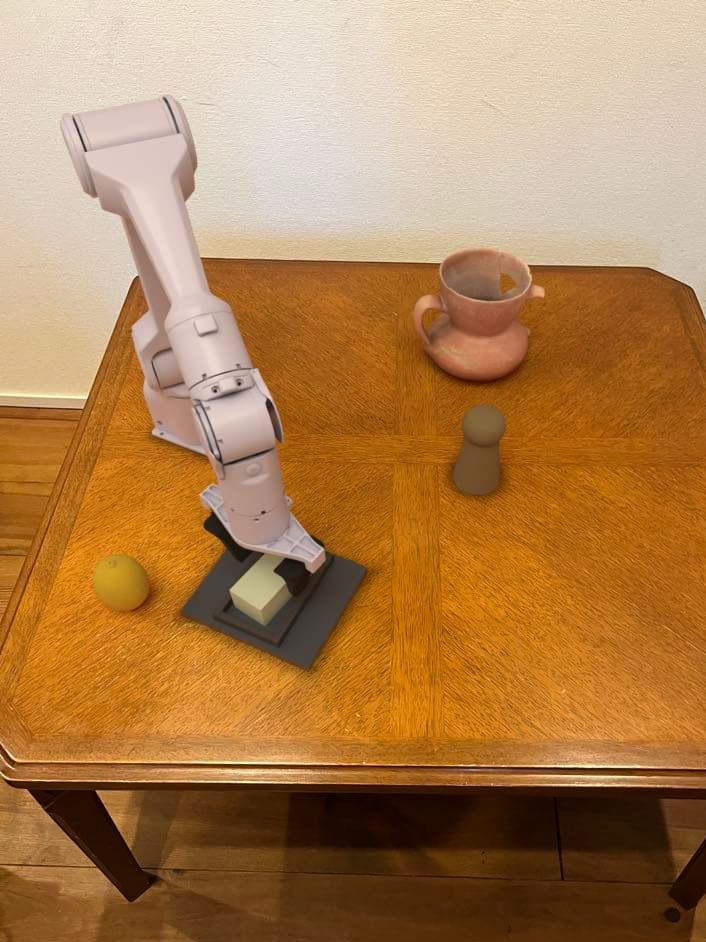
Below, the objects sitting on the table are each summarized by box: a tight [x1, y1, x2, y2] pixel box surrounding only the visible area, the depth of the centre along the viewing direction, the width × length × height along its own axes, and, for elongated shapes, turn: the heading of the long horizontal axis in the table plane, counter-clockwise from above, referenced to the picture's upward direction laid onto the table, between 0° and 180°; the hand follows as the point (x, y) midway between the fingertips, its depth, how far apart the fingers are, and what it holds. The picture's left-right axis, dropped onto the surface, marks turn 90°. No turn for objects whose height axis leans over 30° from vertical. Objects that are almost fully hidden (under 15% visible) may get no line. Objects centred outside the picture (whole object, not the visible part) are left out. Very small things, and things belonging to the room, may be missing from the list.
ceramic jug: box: [412, 247, 546, 382], centre depth 102 cm, size 18×14×14 cm
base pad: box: [179, 548, 369, 673], centre depth 83 cm, size 16×14×2 cm
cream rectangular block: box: [229, 553, 313, 626], centre depth 81 cm, size 4×9×4 cm, turn 146°
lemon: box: [92, 553, 151, 613], centre depth 79 cm, size 6×6×8 cm
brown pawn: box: [452, 404, 507, 496], centre depth 90 cm, size 6×6×11 cm
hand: (272, 572), depth 80 cm, fingers open, 7 cm apart
